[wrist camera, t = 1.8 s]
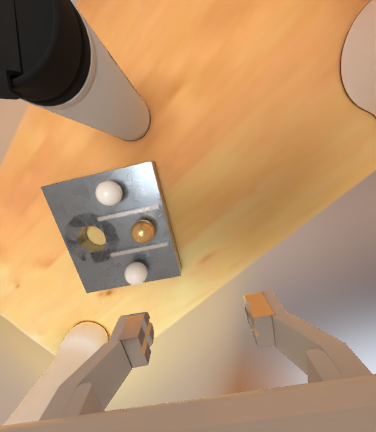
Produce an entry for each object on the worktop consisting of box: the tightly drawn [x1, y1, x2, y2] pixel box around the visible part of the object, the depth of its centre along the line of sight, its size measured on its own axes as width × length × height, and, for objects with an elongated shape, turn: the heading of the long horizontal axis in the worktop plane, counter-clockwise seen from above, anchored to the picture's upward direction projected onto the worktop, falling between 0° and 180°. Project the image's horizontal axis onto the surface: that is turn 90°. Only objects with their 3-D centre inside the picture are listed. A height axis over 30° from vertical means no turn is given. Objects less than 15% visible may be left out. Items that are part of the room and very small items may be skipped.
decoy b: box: [95, 181, 123, 206], centre depth 25 cm, size 4×4×4 cm
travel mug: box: [0, 0, 151, 141], centre depth 17 cm, size 6×7×20 cm
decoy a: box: [125, 262, 147, 285], centre depth 29 cm, size 4×4×4 cm
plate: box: [41, 161, 182, 293], centre depth 30 cm, size 17×19×3 cm
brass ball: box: [131, 220, 155, 244], centre depth 27 cm, size 4×4×4 cm
